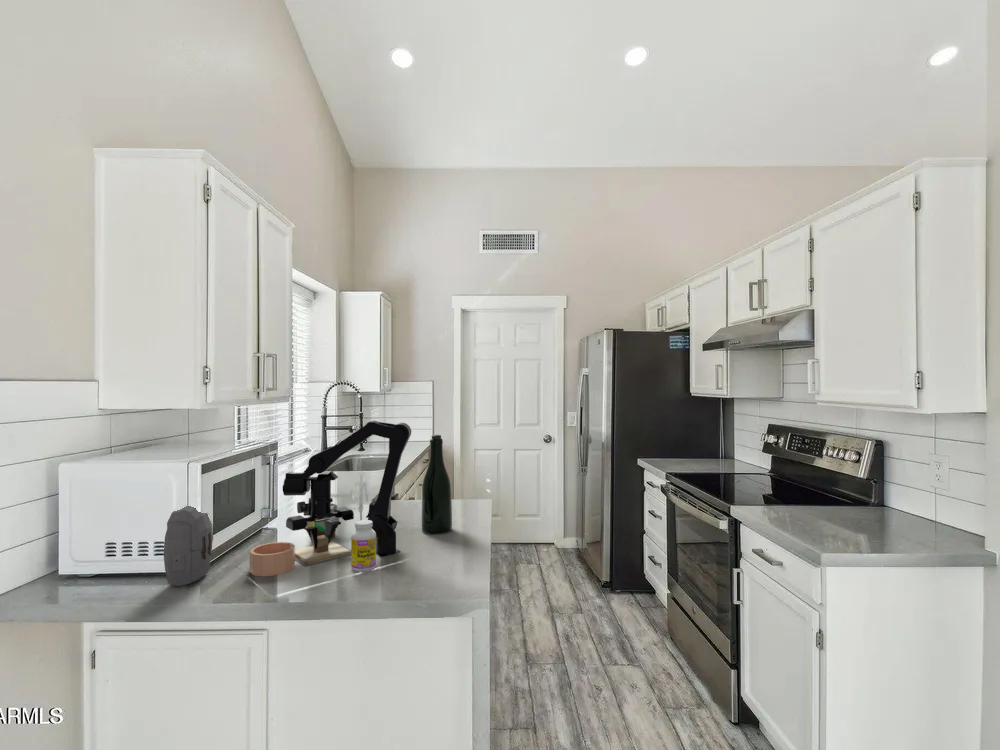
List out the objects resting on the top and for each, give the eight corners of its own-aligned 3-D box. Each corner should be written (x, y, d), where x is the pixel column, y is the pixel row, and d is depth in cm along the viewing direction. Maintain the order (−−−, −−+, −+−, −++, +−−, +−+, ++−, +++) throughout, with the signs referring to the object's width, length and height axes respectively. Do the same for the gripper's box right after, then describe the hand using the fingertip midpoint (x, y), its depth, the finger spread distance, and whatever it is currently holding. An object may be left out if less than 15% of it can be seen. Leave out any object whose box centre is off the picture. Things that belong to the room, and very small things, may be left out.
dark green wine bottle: (416, 533, 178) (415, 436, 178) (429, 525, 188) (428, 433, 188) (445, 536, 175) (444, 436, 175) (456, 527, 185) (456, 433, 185)
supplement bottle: (354, 574, 141) (353, 526, 141) (348, 566, 147) (348, 520, 147) (378, 570, 144) (378, 523, 144) (372, 562, 150) (372, 517, 150)
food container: (327, 544, 167) (326, 512, 167) (309, 543, 168) (309, 511, 168) (345, 533, 179) (345, 503, 179) (329, 532, 180) (329, 502, 180)
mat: (358, 555, 156) (358, 553, 156) (305, 568, 145) (305, 566, 145) (334, 543, 168) (334, 541, 168) (283, 554, 157) (283, 553, 157)
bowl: (300, 570, 144) (300, 548, 144) (258, 581, 137) (258, 558, 137) (285, 560, 152) (285, 539, 152) (245, 569, 145) (244, 548, 145)
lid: (351, 553, 156) (351, 537, 156) (308, 564, 147) (308, 547, 147) (332, 543, 166) (332, 528, 166) (290, 553, 157) (290, 536, 157)
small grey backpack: (191, 570, 145) (191, 497, 145) (222, 569, 145) (222, 497, 145) (158, 592, 130) (158, 511, 130) (193, 591, 130) (193, 510, 130)
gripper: (338, 486, 169) (338, 535, 169) (279, 495, 156) (279, 547, 156) (354, 491, 161) (354, 542, 161) (293, 501, 148) (293, 557, 148)
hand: (320, 547), depth 157 cm, fingers closed on lid, 3 cm apart
